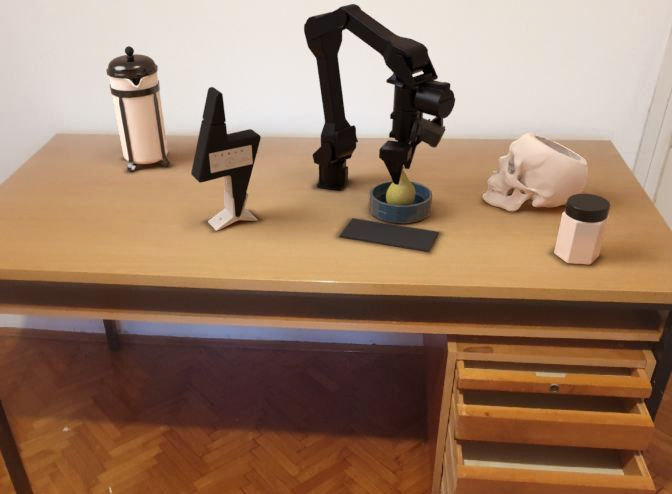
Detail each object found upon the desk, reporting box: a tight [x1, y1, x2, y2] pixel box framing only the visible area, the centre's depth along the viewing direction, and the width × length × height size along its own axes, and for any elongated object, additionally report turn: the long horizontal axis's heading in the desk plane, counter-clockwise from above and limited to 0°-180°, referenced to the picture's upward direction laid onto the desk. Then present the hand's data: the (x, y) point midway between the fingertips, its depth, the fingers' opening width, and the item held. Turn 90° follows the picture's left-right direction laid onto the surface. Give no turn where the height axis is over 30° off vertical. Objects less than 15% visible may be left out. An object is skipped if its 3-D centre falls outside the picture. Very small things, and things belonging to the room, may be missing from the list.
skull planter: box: [481, 132, 589, 212], centre depth 162 cm, size 14×20×19 cm
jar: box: [553, 193, 611, 266], centre depth 142 cm, size 9×8×12 cm
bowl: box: [368, 180, 433, 224], centre depth 163 cm, size 14×14×4 cm
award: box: [191, 86, 262, 232], centre depth 153 cm, size 15×5×30 cm, turn 117°
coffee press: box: [105, 45, 171, 173], centre depth 184 cm, size 17×16×30 cm
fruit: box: [386, 166, 415, 206], centre depth 160 cm, size 7×8×12 cm
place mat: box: [339, 217, 439, 253], centre depth 155 cm, size 20×9×1 cm, turn 68°
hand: (401, 176), depth 159 cm, fingers open, 9 cm apart
